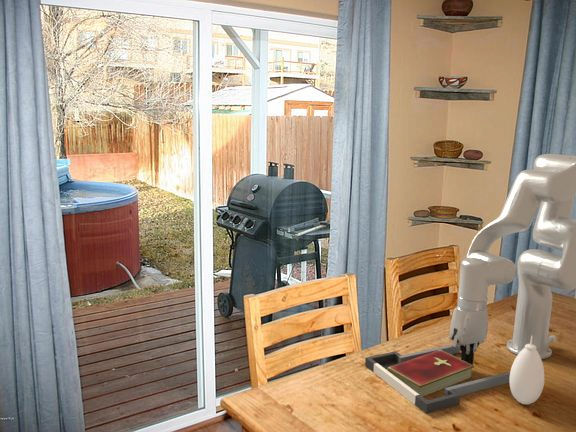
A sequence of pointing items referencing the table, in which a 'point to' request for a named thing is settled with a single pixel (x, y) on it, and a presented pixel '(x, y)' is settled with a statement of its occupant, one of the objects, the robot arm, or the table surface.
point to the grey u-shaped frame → (449, 399)
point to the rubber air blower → (527, 375)
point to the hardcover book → (432, 372)
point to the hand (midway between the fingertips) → (466, 364)
